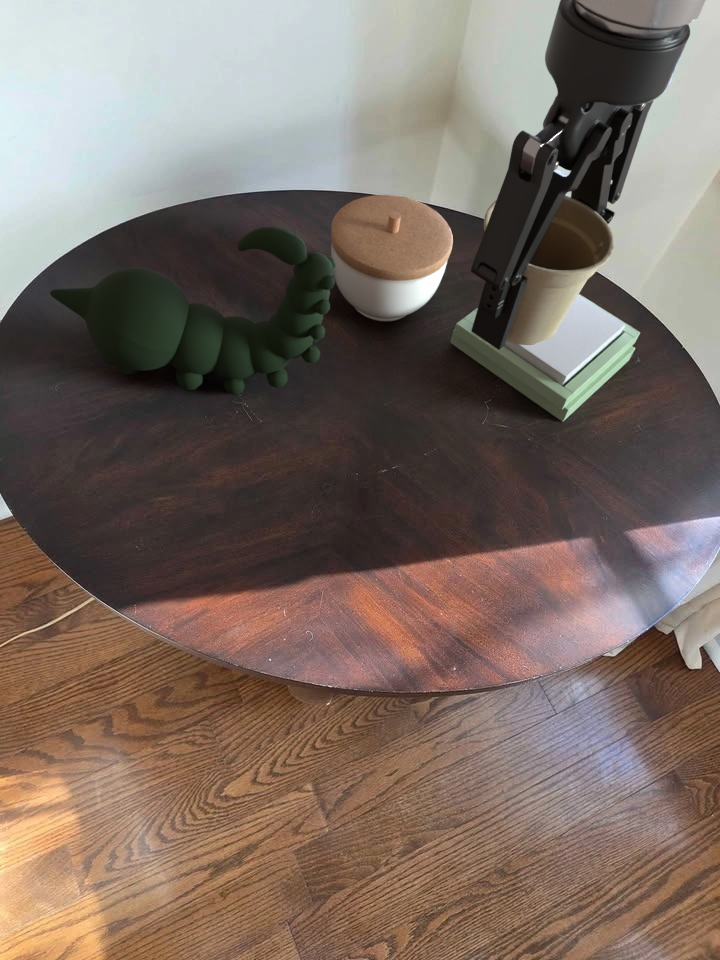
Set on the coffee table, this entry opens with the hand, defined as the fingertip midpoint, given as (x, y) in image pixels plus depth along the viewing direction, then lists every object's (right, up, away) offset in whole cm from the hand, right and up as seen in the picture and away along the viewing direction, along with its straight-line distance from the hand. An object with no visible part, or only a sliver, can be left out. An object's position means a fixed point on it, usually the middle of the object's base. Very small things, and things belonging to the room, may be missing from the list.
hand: (521, 310), depth 62 cm
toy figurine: (-29, -3, +17) cm, 34 cm away
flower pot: (0, -1, +1) cm, 1 cm away
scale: (+7, 0, +23) cm, 24 cm away
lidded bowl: (-10, +7, +25) cm, 28 cm away
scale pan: (+7, +2, +20) cm, 22 cm away
